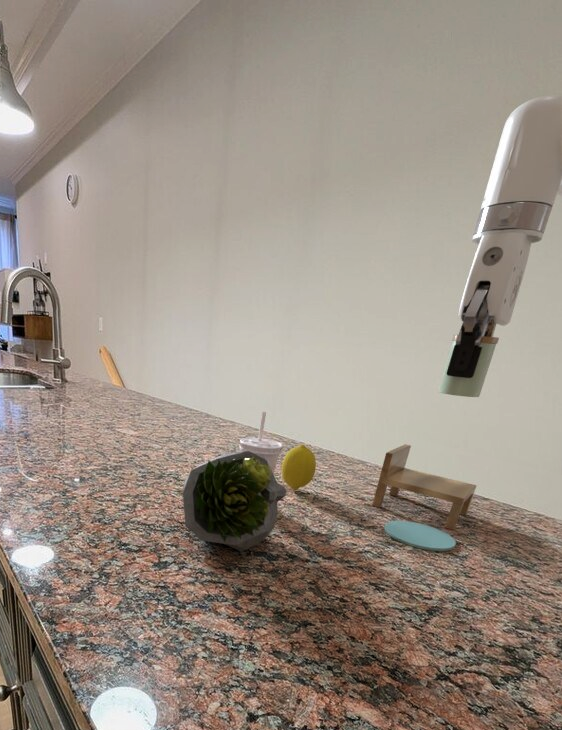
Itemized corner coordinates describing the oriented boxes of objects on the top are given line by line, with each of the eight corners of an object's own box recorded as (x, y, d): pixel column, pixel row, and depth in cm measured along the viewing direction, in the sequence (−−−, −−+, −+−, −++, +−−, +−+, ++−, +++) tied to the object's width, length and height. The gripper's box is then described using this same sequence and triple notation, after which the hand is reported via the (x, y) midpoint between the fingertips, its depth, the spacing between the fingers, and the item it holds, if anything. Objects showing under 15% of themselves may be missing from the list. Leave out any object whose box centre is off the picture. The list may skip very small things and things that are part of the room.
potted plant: (291, 503, 61) (329, 517, 46) (215, 558, 62) (227, 589, 47) (240, 431, 60) (261, 421, 45) (163, 487, 60) (159, 496, 46)
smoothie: (259, 495, 73) (273, 409, 68) (280, 510, 68) (298, 417, 62) (224, 497, 71) (236, 408, 65) (243, 512, 65) (258, 417, 60)
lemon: (290, 482, 81) (299, 439, 78) (317, 492, 77) (326, 447, 74) (271, 487, 77) (279, 442, 74) (297, 497, 74) (307, 450, 70)
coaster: (461, 538, 63) (462, 535, 63) (446, 557, 57) (447, 555, 57) (395, 518, 69) (396, 515, 68) (375, 534, 62) (376, 531, 62)
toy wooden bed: (466, 514, 73) (485, 461, 70) (453, 530, 66) (473, 472, 62) (391, 493, 80) (405, 444, 77) (371, 505, 73) (386, 452, 70)
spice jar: (483, 396, 64) (502, 338, 62) (476, 398, 61) (495, 336, 58) (442, 390, 68) (458, 335, 65) (433, 392, 64) (449, 334, 61)
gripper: (539, 207, 48) (483, 381, 55) (551, 239, 60) (504, 378, 67) (461, 214, 53) (418, 374, 59) (487, 242, 65) (448, 372, 72)
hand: (464, 375), depth 63 cm, fingers closed on spice jar, 5 cm apart
